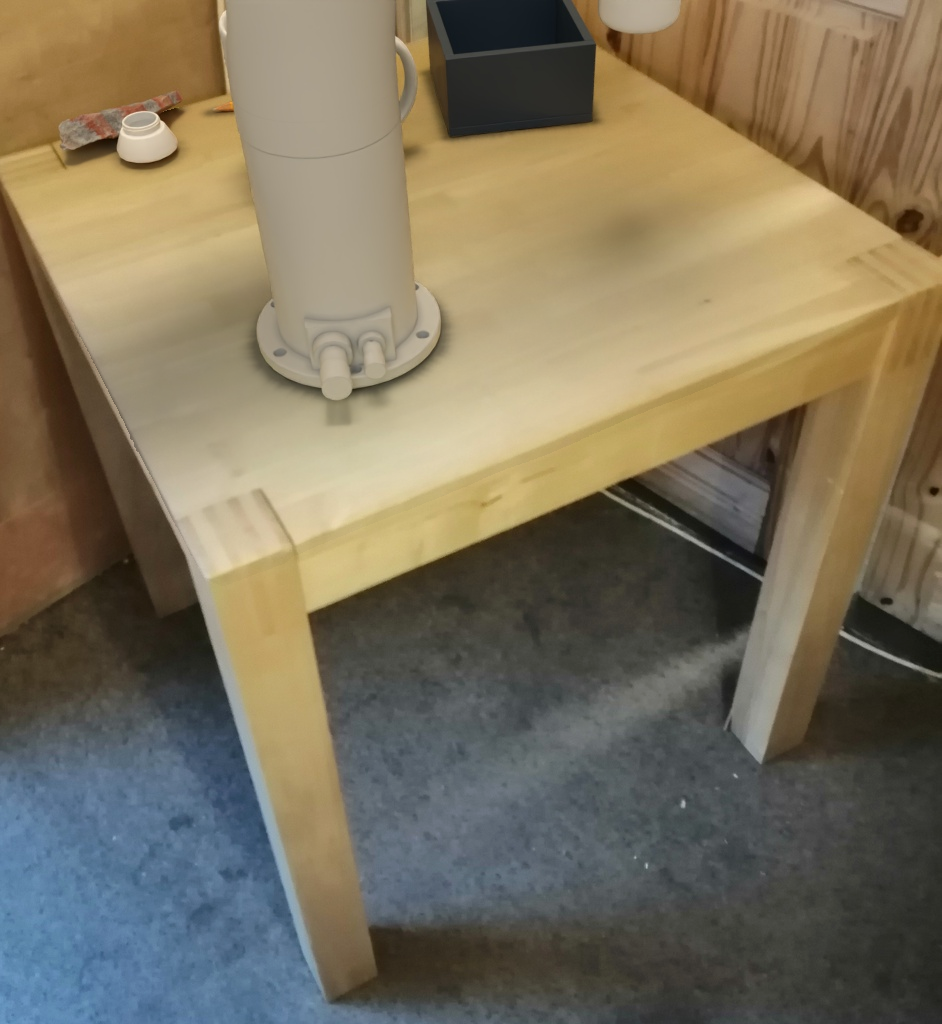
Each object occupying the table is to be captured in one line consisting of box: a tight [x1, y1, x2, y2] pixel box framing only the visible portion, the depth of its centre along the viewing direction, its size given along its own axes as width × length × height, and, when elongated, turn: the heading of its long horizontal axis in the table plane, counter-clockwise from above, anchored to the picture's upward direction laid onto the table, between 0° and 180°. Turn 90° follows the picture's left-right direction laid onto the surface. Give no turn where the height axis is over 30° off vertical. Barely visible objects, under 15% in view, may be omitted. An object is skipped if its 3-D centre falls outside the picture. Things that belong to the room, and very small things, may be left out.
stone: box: [57, 89, 184, 151], centre depth 94 cm, size 12×2×5 cm
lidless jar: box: [116, 111, 179, 164], centre depth 91 cm, size 5×3×5 cm
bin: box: [425, 0, 597, 138], centre depth 95 cm, size 13×13×7 cm
